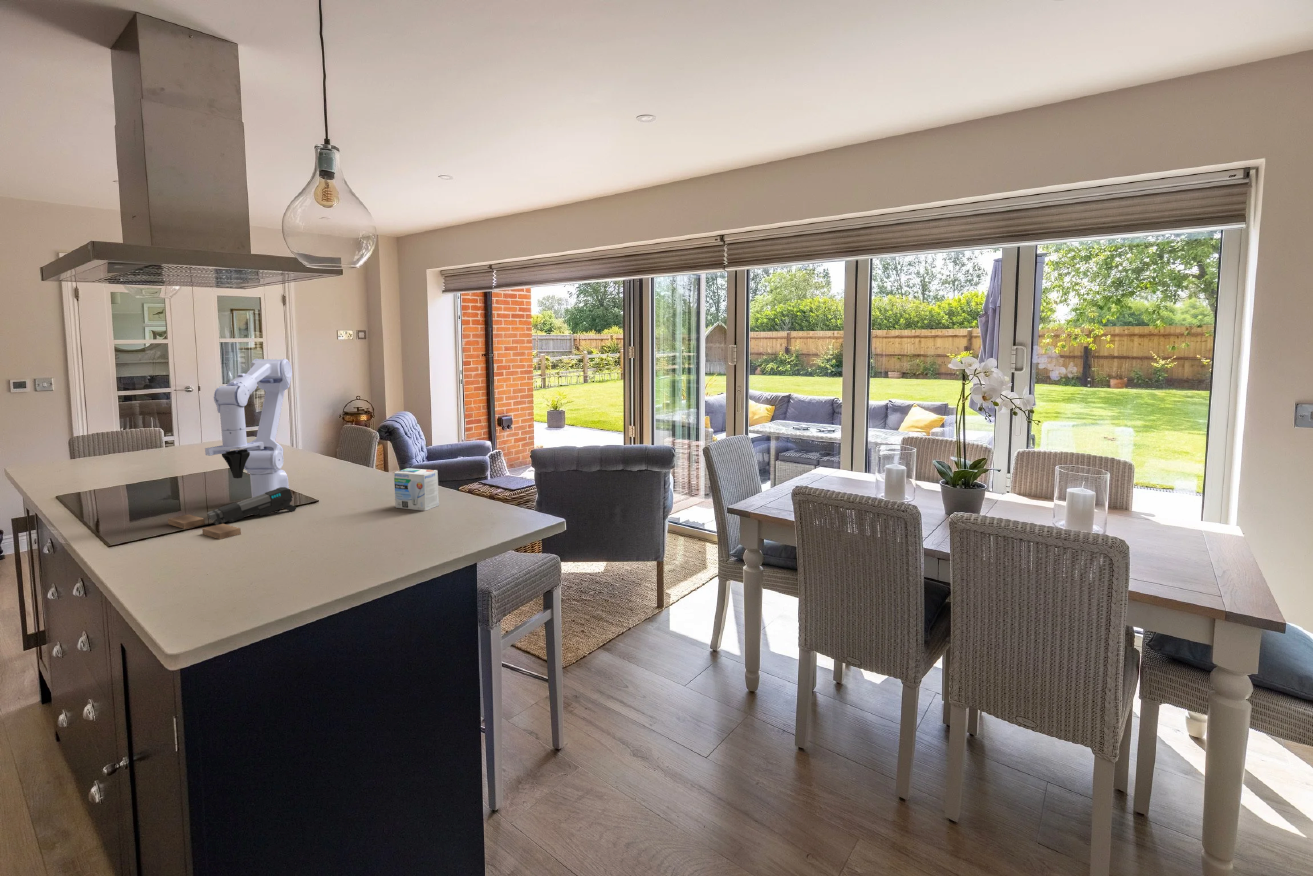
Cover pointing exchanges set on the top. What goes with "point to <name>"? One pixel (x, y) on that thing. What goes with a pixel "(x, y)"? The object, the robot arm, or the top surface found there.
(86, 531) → the top surface
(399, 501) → the light bulb box
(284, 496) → the gun
